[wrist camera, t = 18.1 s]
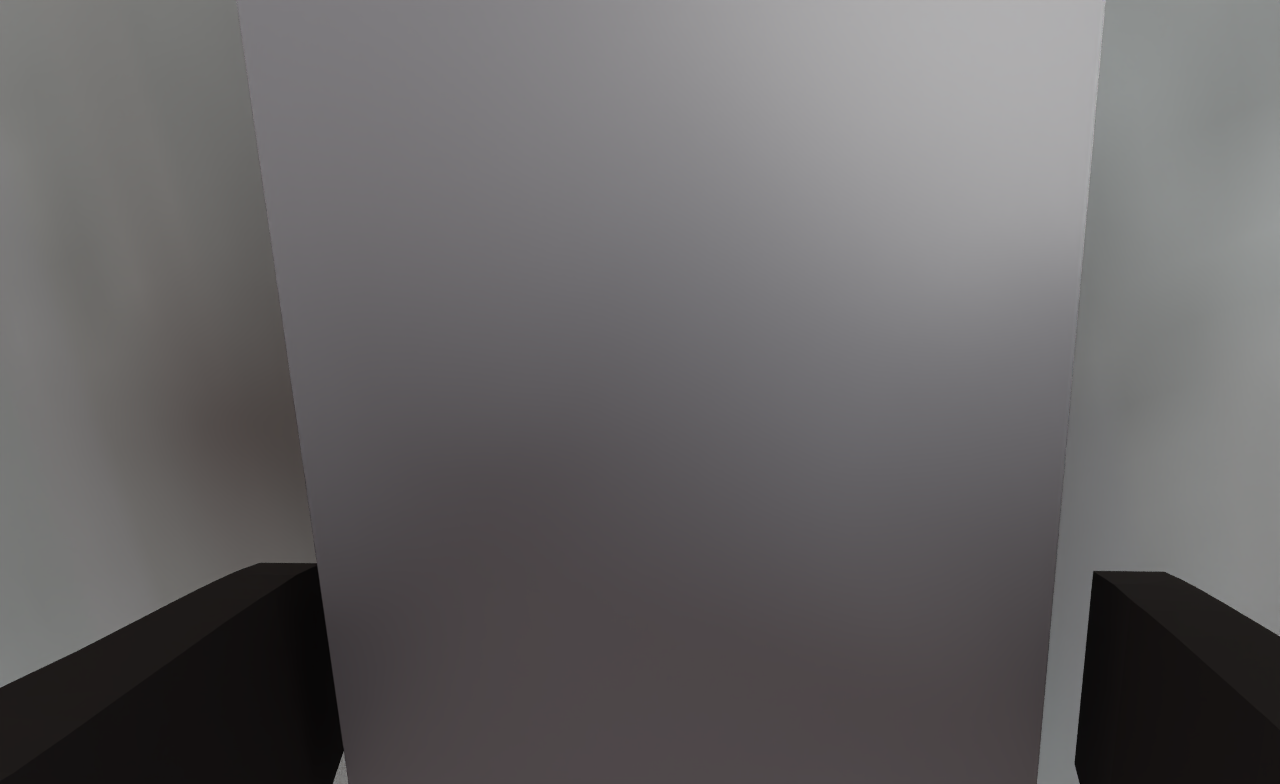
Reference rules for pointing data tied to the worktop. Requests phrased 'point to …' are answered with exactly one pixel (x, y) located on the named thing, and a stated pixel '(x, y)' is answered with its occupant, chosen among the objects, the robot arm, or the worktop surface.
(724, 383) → the grey rectangular block
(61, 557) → the worktop surface
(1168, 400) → the worktop surface
